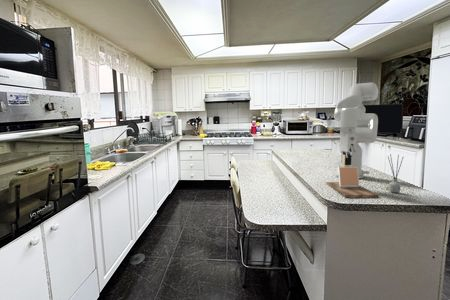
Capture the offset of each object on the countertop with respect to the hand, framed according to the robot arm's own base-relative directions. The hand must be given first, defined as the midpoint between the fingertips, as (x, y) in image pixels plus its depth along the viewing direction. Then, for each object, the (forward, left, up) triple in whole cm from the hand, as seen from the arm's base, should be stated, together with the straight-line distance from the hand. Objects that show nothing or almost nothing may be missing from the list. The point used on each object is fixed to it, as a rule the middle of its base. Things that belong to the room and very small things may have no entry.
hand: (346, 164), depth 128 cm
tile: (0, +4, -12) cm, 12 cm away
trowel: (0, 0, -8) cm, 8 cm away
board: (0, +4, -14) cm, 14 cm away
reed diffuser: (-20, +8, -14) cm, 26 cm away
